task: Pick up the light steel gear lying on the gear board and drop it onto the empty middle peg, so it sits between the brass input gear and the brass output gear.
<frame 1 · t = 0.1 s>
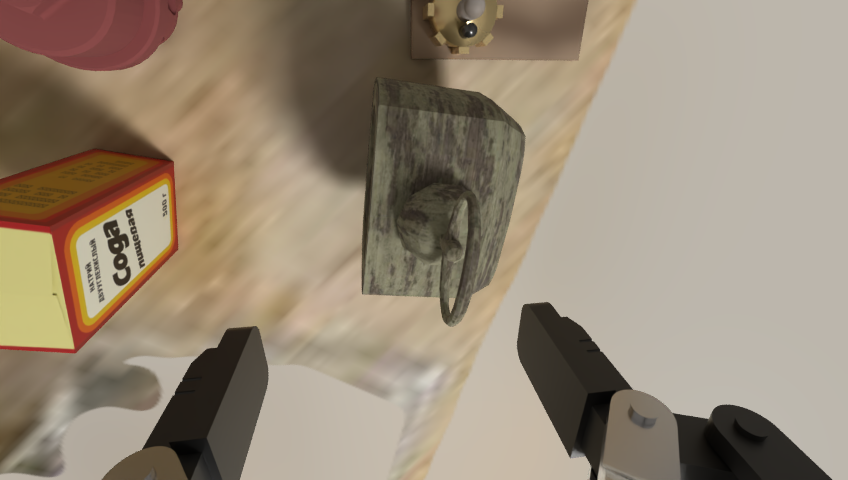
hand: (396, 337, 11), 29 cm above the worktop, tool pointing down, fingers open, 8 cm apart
mechanical component: (140, 0, 30), on the worktop
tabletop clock: (411, 155, 39), on the worktop
baking soda box: (140, 201, 37), on the worktop
input gear: (457, 14, 33), resting on gear board
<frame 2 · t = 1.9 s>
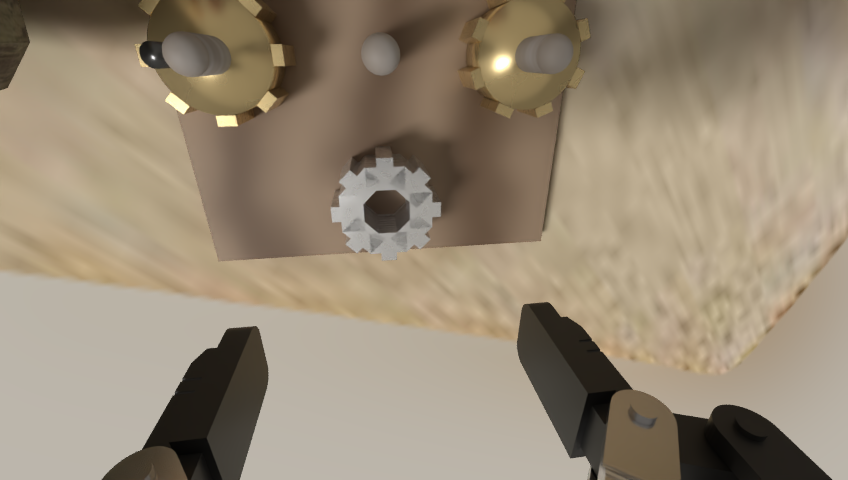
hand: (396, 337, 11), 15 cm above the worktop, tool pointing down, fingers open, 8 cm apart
gear board: (381, 128, 23), on the worktop
output gear: (510, 55, 21), resting on gear board
steel gear: (385, 195, 24), point 1 cm above the worktop, touching gear board
input gear: (233, 55, 19), resting on gear board
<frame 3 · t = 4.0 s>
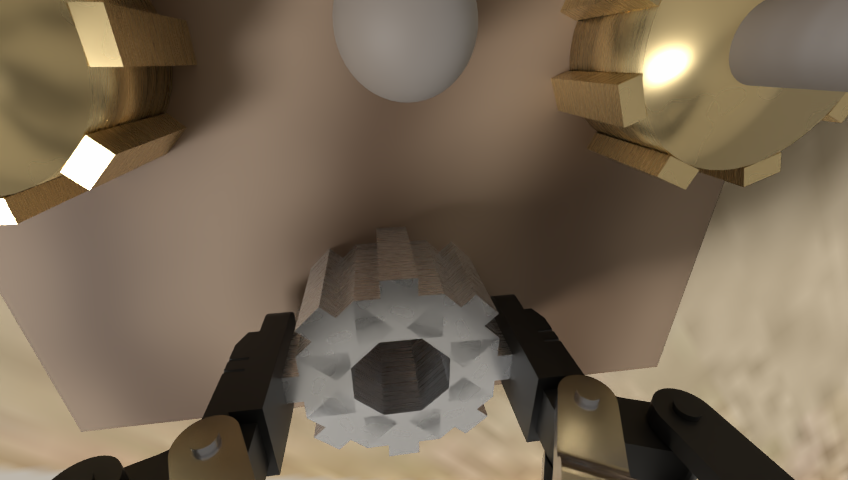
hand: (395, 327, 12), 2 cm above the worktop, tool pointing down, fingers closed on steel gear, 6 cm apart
gear board: (387, 188, 12), on the worktop
output gear: (660, 47, 10), resting on gear board
steel gear: (394, 311, 13), point 1 cm above the worktop, touching gear board, gripper
input gear: (41, 42, 8), resting on gear board
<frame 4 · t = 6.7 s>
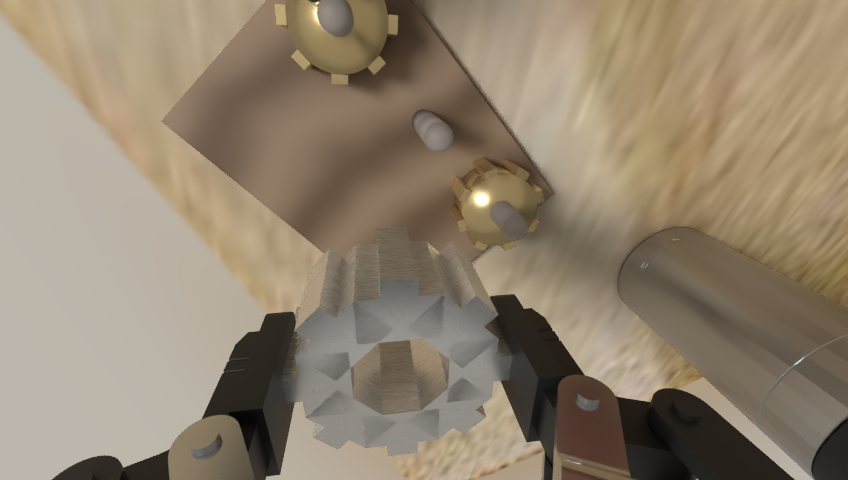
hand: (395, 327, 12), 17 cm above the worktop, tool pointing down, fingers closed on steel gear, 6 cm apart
gear board: (380, 158, 27), on the worktop
output gear: (487, 197, 28), resting on gear board
steel gear: (393, 311, 13), point 17 cm above the worktop, touching gripper
input gear: (341, 24, 22), resting on gear board
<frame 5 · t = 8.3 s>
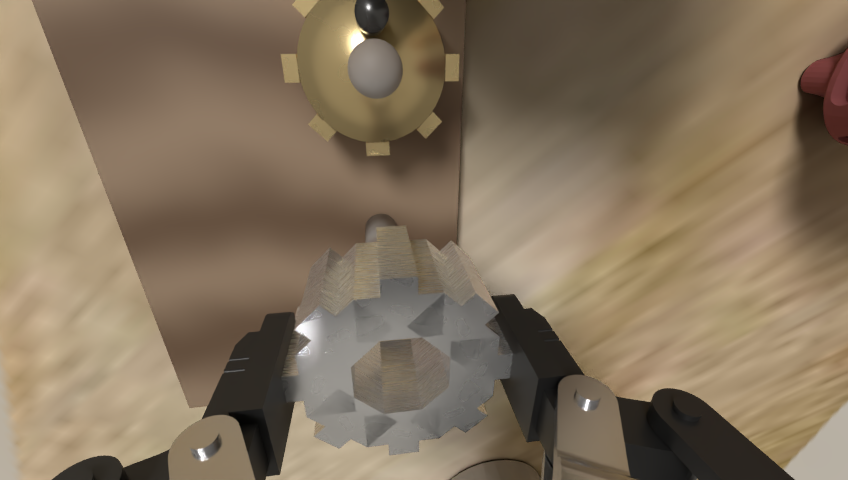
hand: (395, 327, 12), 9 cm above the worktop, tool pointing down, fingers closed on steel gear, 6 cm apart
mechanical component: (847, 74, 21), on the worktop
gear board: (303, 225, 20), on the worktop
steel gear: (394, 310, 13), point 8 cm above the worktop, touching gripper
input gear: (371, 67, 16), resting on gear board
when the fingers open (5 cm above the worktop, at t = 9.7 s): steel gear drops 3 cm, resting on gear board.
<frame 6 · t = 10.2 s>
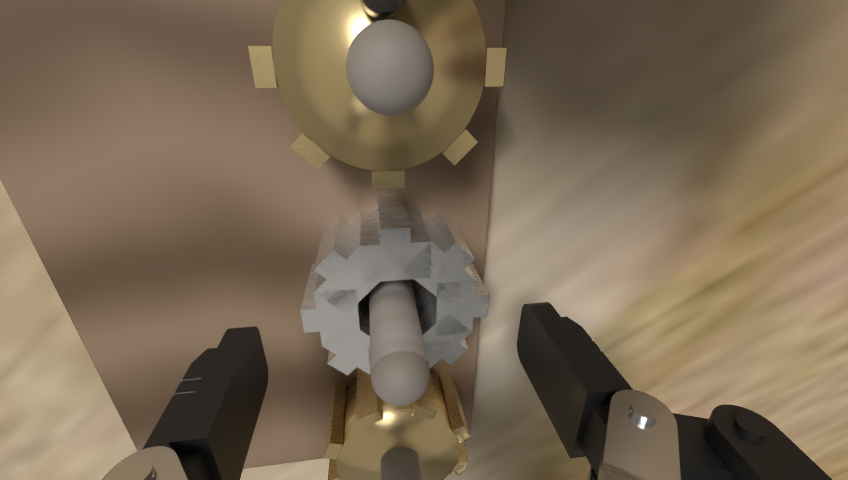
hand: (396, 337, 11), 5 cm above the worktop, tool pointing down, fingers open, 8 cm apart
gear board: (290, 264, 15), on the worktop
output gear: (394, 401, 18), resting on gear board
steel gear: (392, 268, 15), point 1 cm above the worktop, touching gear board
input gear: (379, 65, 12), resting on gear board
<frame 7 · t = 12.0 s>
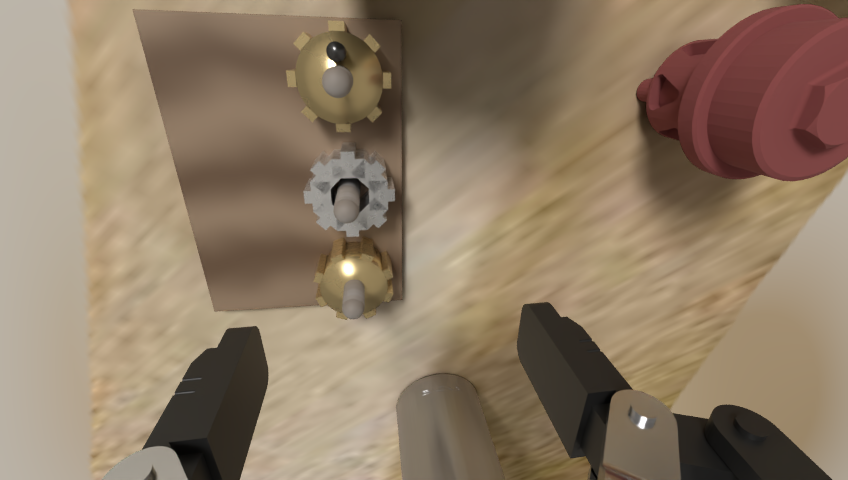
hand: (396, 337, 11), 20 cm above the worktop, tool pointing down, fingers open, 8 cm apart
mechanical component: (671, 89, 30), on the worktop
gear board: (297, 181, 29), on the worktop
output gear: (355, 268, 32), resting on gear board
steel gear: (351, 183, 29), point 1 cm above the worktop, touching gear board
input gear: (342, 77, 25), resting on gear board
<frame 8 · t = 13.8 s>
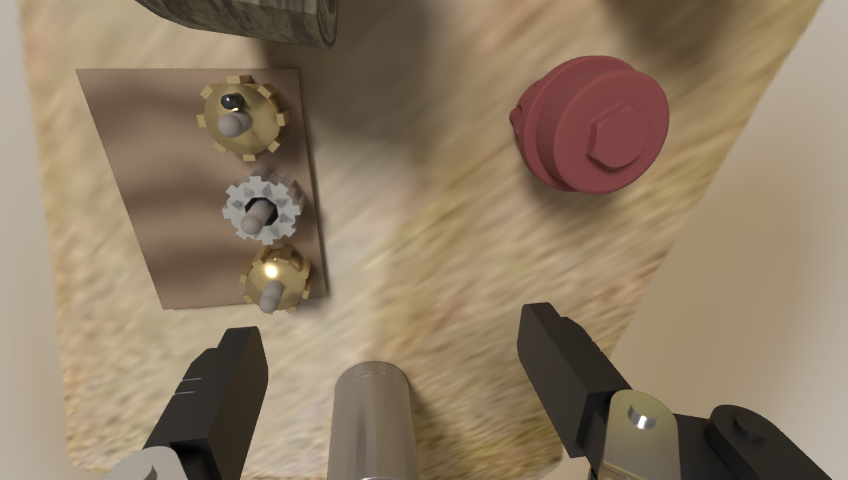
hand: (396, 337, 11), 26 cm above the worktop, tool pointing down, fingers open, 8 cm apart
mechanical component: (541, 114, 36), on the worktop
gear board: (225, 199, 35), on the worktop
output gear: (281, 271, 38), resting on gear board
steel gear: (269, 200, 34), point 1 cm above the worktop, touching gear board
input gear: (252, 115, 31), resting on gear board
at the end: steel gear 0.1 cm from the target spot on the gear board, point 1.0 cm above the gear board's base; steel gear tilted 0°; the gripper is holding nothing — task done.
